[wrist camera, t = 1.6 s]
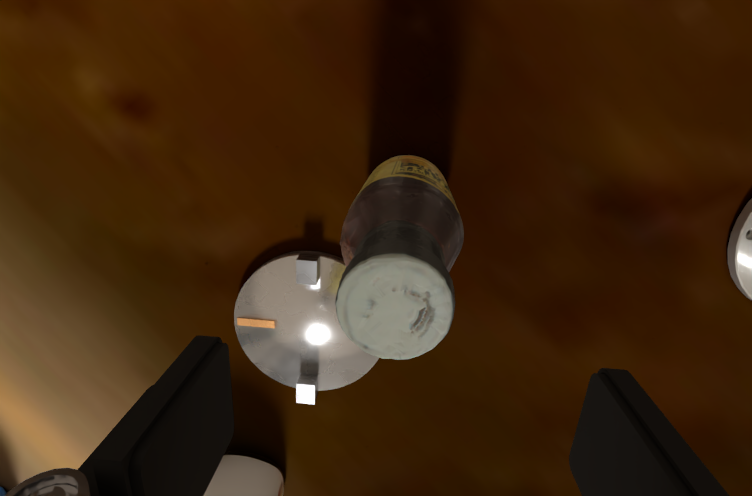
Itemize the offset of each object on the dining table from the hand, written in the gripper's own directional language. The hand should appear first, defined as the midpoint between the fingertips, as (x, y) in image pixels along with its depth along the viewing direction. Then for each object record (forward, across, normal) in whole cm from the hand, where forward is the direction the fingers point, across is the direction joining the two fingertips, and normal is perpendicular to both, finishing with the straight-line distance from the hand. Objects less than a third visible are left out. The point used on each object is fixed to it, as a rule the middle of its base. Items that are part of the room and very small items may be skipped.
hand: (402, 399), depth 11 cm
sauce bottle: (+24, 0, 0) cm, 24 cm away
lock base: (+23, +7, +12) cm, 27 cm away
